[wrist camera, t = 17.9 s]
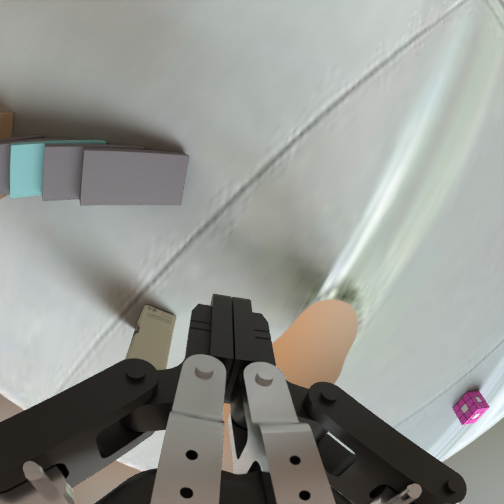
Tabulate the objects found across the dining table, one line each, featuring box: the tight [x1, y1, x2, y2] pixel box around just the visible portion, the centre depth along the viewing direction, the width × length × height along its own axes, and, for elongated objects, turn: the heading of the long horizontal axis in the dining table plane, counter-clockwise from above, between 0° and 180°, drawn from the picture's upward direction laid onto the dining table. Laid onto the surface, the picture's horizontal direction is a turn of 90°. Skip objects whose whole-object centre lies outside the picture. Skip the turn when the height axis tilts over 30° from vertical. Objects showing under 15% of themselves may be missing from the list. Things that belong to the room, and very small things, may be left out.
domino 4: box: [80, 147, 189, 205], centre depth 27 cm, size 2×5×10 cm
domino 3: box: [42, 144, 146, 201], centre depth 27 cm, size 2×5×10 cm
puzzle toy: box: [453, 391, 489, 425], centre depth 53 cm, size 6×6×6 cm
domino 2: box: [10, 140, 107, 198], centre depth 25 cm, size 2×5×10 cm
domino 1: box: [0, 137, 73, 196], centre depth 25 cm, size 2×5×10 cm
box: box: [126, 305, 176, 370], centre depth 33 cm, size 5×4×13 cm
